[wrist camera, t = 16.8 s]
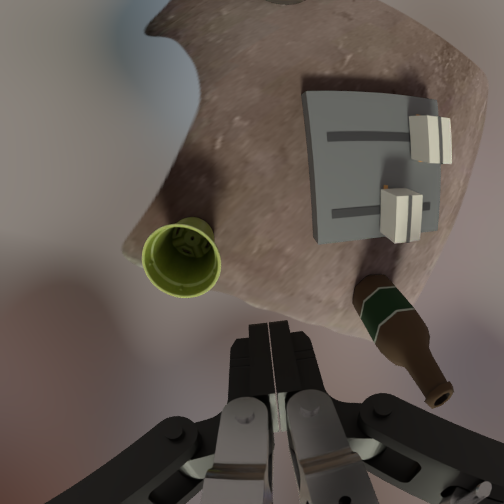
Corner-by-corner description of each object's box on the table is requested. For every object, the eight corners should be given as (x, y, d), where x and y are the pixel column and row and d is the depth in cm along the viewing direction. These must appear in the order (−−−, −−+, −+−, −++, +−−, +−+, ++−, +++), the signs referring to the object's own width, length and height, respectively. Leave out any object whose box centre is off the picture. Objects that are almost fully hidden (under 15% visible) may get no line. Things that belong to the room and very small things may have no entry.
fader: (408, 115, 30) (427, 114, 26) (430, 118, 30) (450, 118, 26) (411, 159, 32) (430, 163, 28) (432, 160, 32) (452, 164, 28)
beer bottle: (365, 265, 42) (447, 372, 20) (399, 279, 43) (480, 375, 21) (342, 305, 45) (398, 422, 23) (376, 316, 46) (438, 420, 24)
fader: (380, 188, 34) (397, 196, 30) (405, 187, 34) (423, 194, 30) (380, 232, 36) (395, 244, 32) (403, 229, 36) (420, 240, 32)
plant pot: (210, 277, 42) (203, 309, 34) (153, 252, 40) (133, 279, 32) (236, 222, 39) (234, 245, 31) (174, 194, 37) (155, 210, 29)
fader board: (301, 94, 32) (306, 91, 30) (425, 101, 32) (437, 100, 29) (313, 237, 40) (318, 244, 37) (427, 224, 40) (437, 230, 37)
